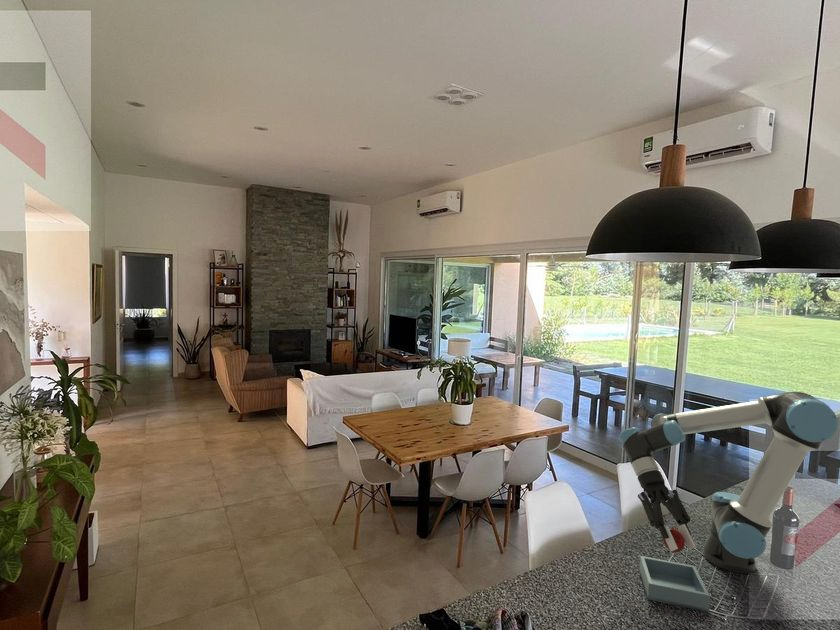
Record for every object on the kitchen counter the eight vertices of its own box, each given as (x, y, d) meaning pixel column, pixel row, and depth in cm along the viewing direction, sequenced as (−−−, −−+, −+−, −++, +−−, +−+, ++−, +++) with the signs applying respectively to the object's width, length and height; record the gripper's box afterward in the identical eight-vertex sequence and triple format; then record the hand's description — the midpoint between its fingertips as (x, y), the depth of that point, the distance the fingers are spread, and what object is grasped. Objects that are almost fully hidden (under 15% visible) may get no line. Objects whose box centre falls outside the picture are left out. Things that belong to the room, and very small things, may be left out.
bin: (693, 581, 145) (695, 566, 144) (708, 612, 130) (709, 595, 130) (639, 570, 149) (640, 555, 149) (647, 599, 135) (648, 583, 135)
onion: (686, 559, 136) (688, 533, 135) (666, 556, 137) (668, 531, 137) (679, 548, 142) (681, 524, 141) (659, 546, 143) (661, 521, 142)
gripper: (665, 476, 155) (701, 549, 140) (618, 479, 151) (649, 555, 136) (678, 467, 150) (717, 542, 135) (629, 470, 146) (664, 548, 131)
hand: (683, 548), depth 136 cm, fingers closed on onion, 6 cm apart
